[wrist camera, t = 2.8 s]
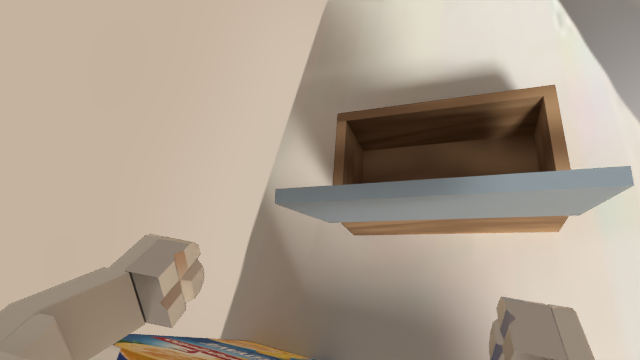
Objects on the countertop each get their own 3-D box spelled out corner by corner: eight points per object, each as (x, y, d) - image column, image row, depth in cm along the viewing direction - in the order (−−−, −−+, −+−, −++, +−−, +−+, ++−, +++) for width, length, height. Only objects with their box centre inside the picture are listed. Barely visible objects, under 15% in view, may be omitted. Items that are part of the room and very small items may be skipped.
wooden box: (558, 231, 37) (576, 203, 30) (354, 235, 44) (330, 213, 37) (542, 129, 41) (554, 84, 34) (357, 148, 48) (337, 113, 41)
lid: (577, 202, 30) (579, 215, 29) (329, 212, 37) (329, 222, 36) (630, 165, 20) (633, 185, 19) (275, 189, 27) (275, 203, 26)
